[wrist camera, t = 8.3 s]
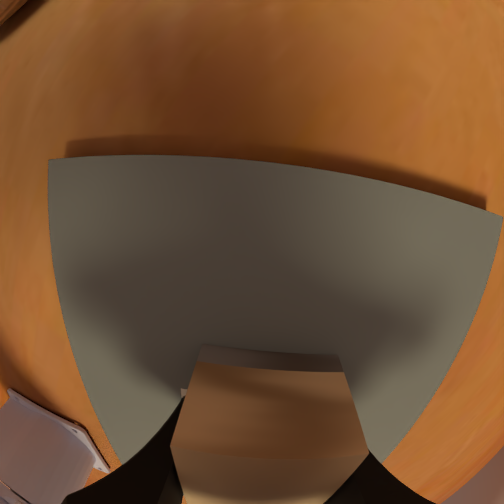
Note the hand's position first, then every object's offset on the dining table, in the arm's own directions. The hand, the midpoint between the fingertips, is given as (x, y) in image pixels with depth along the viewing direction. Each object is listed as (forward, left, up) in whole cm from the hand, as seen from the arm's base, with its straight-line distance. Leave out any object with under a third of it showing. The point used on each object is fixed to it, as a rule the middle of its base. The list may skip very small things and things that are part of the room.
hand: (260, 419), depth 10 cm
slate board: (0, -2, -2) cm, 3 cm away
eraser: (0, 0, -1) cm, 1 cm away
